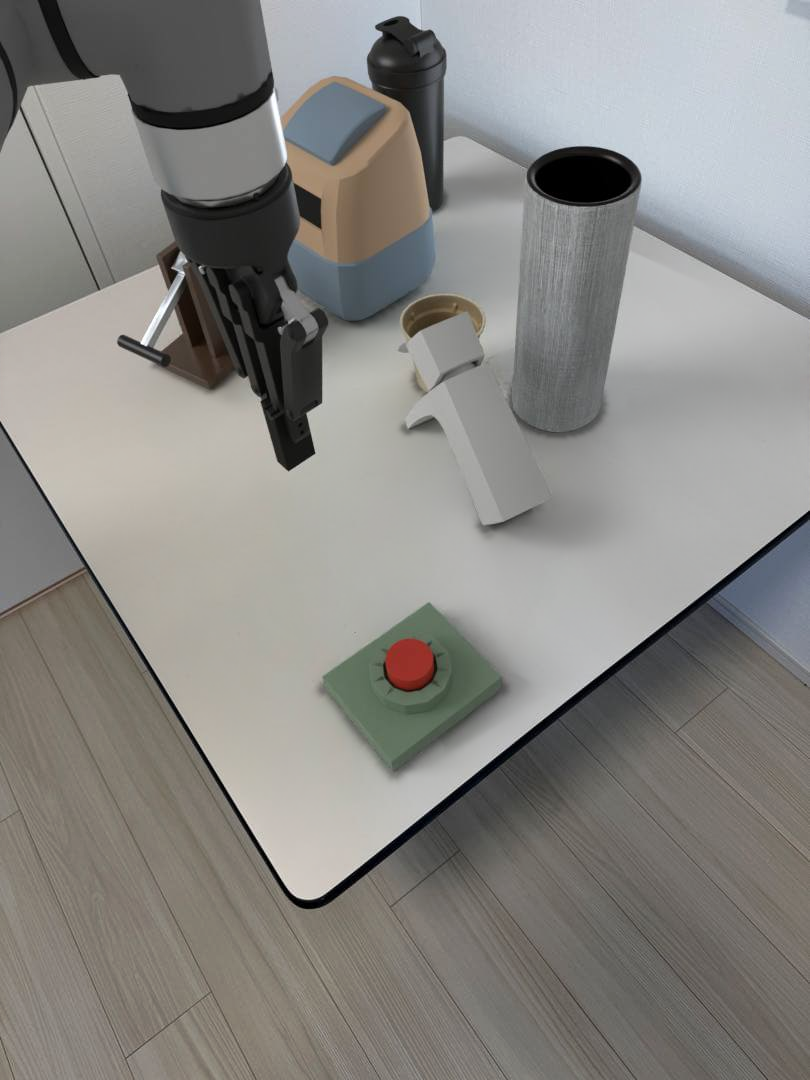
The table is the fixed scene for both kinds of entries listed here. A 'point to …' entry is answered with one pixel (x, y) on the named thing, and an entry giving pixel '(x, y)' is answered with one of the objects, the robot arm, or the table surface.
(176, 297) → the tap lever
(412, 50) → the water bottle
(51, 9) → the robot arm
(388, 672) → the button
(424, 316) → the flower pot
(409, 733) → the button box
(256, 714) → the table surface
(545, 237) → the vase
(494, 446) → the faucet
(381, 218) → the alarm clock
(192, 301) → the brown lever stand
